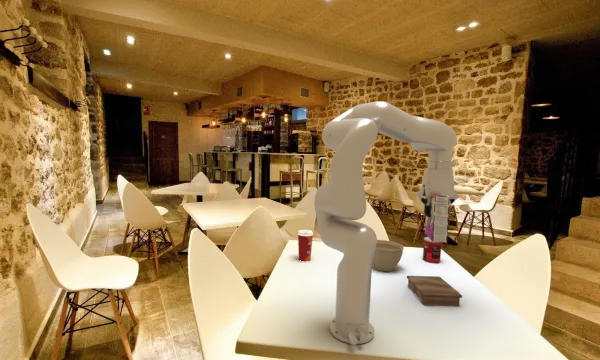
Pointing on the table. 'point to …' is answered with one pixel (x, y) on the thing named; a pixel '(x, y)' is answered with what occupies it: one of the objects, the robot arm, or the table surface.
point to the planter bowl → (387, 255)
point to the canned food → (431, 251)
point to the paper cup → (305, 244)
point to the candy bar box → (438, 218)
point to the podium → (433, 291)
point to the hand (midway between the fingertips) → (436, 216)
